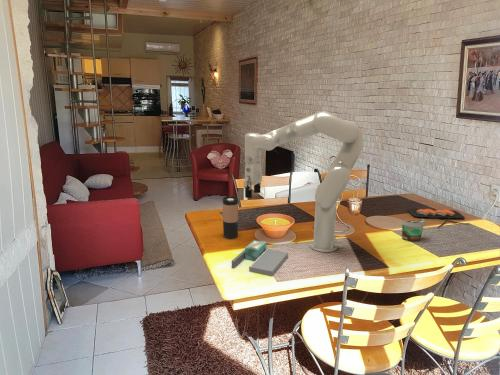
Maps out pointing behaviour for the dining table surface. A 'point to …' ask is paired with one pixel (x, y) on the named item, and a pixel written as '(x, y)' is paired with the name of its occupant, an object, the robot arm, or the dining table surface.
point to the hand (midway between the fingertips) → (252, 195)
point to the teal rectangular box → (255, 249)
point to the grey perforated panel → (264, 261)
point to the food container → (412, 230)
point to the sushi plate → (436, 214)
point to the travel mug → (230, 217)
